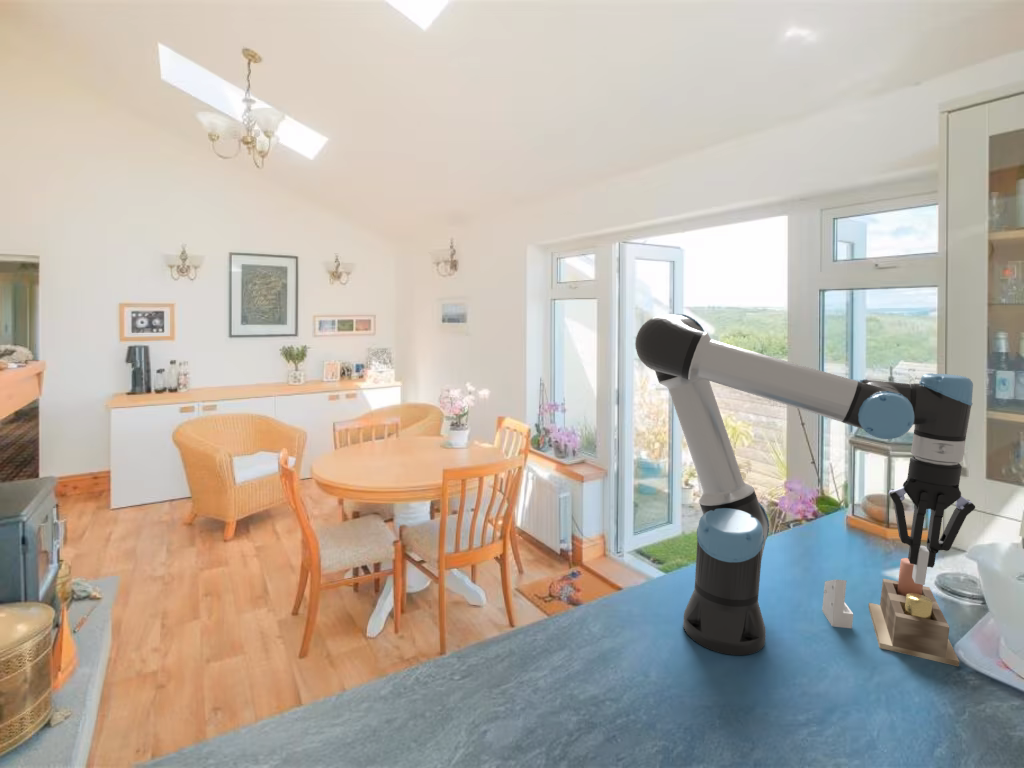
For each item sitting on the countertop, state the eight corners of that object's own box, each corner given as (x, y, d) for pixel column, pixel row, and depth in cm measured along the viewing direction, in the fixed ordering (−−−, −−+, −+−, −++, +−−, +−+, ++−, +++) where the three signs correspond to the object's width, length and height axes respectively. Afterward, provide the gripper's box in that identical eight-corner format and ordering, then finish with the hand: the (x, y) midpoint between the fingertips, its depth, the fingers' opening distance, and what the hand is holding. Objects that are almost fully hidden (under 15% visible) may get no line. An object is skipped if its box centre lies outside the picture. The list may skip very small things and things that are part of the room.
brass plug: (903, 640, 104) (908, 601, 103) (900, 629, 108) (904, 591, 107) (929, 646, 103) (934, 606, 101) (925, 635, 106) (929, 596, 105)
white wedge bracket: (841, 627, 107) (836, 579, 110) (823, 625, 116) (819, 582, 119) (862, 629, 106) (856, 581, 109) (842, 627, 115) (838, 583, 119)
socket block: (879, 647, 105) (883, 613, 104) (868, 607, 119) (871, 576, 118) (958, 666, 99) (963, 630, 98) (937, 621, 113) (941, 589, 112)
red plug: (898, 602, 111) (902, 564, 110) (894, 593, 114) (899, 556, 113) (922, 607, 109) (927, 568, 108) (918, 597, 113) (922, 560, 112)
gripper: (896, 459, 100) (879, 581, 103) (988, 470, 94) (967, 599, 98) (889, 449, 106) (874, 564, 110) (974, 459, 101) (955, 580, 104)
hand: (918, 580), depth 104 cm, fingers closed
